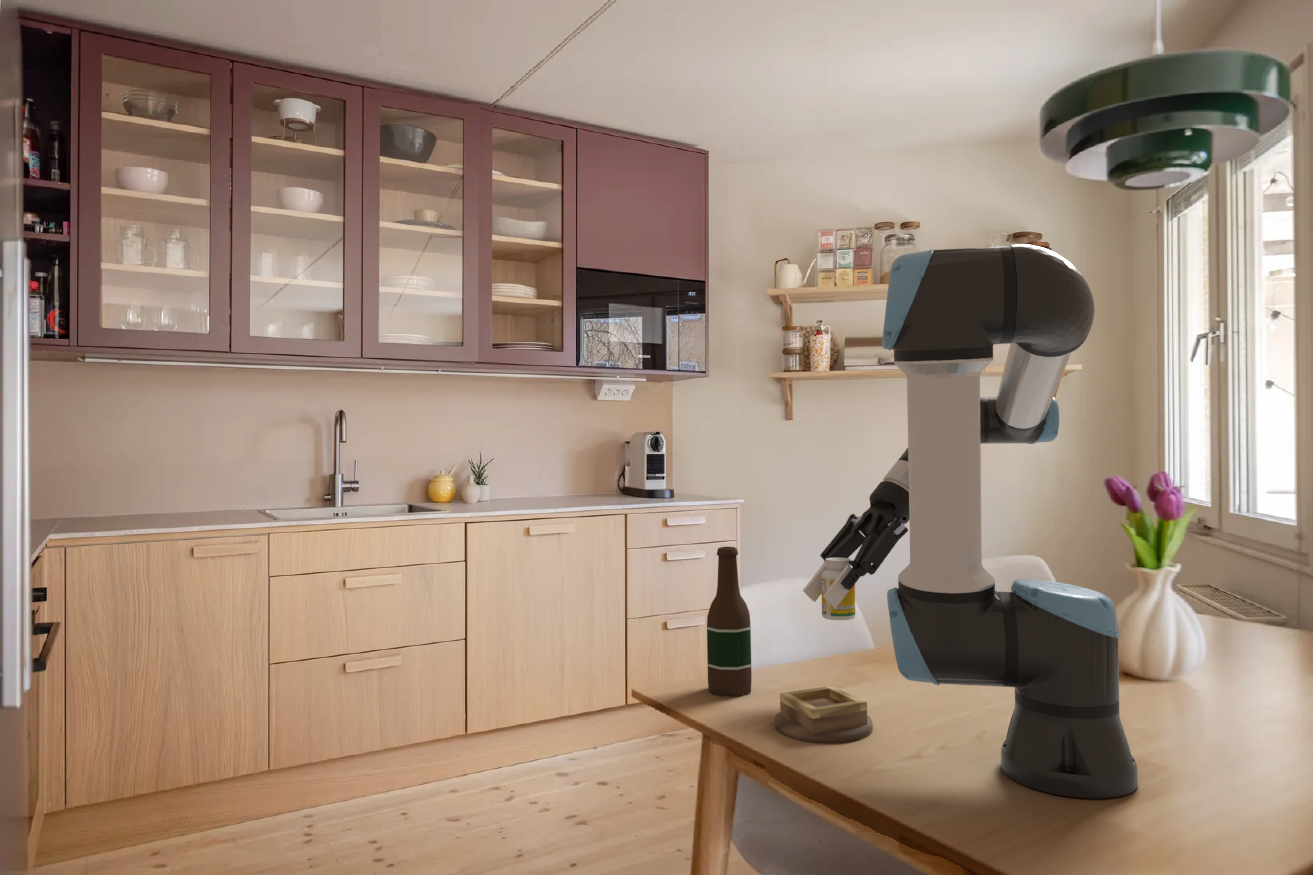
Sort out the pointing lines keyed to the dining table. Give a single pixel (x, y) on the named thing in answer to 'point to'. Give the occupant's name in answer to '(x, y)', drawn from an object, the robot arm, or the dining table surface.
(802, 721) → the square wooden tray
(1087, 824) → the dining table surface
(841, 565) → the supplement bottle
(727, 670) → the beer bottle
